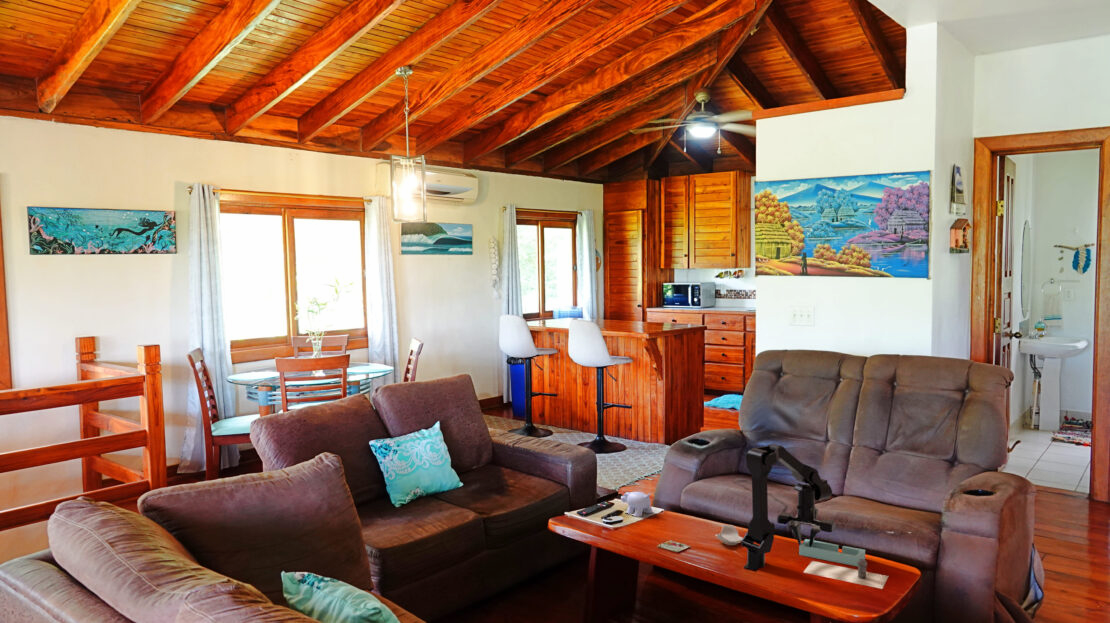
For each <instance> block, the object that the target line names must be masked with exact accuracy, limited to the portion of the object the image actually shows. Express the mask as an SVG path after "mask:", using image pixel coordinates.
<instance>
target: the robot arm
mask: <svg viewBox="0 0 1110 623" xmlns="http://www.w3.org/2000/svg"><path fill="white" fill-rule="evenodd" d="M745 462H746V468H747V470H748V471H749V474H750V475H751V487H752V488H751V494H752V497H751V498H752V503H751V504H752V518H751V519H750V521H749V522H748V525H747V531H746V532H745V534H744V536H743V537H742V538H743V539H742V540H741V542H740V543H741V547H742V548H745V549H747V550H746V551H747V552H746V553H747V555H746V556H747V558H746V559H747V560H746V561H747V562H746V563H745V565H744V566H743V569H747V570H751V571H756V572H757V571H759V570H760V569H762V568H764V567H765V566H766V554H767V553H770V552H771V550H772V547H773V543H774V539H775V536H776V533H775V526H776V525H775V523H774V522H771V521H770V520H769V507H768V506H769V504H768V500H769V499H768V476H769V474H770V473H771V471H772V470H773V469H772V468H773V465H774V464H777V463H778V462H779V463H781V464H782V465H784V466H785V467H786V468H787V469H788V470H790V472H791V475H792V476H793V478H794V479H795V480H796V481H798V482H799V483H798V482H797V484H796V485H795V486H794V487H793V490H794V491H796V492H797V505H796V512H797V516H794V515H793V513H790V512H785V511H782V512H781V513H780V514H778V515H777V517H776V523H777V524H781V525H787V524H788V523H789V525H788V528H791V530H792V532H793V533H794V537H795V539H796V540H797V544H798V545H799V546H800V545H801V544H802V531H801V530H802V529H801V527H802V525H807V526H811V527H812V528H810V532H809V540H810V547H812V544H813V542H814V541H815V539H816V536H817V534H819V533H821V532H826V533H833V531H834V530H835V529H836V522H835V521H834V520H833V519H826V518H823V519H821V520H820V521H819V520H817V519H818V515H819V509H818V508H816V504H815V502H816V501H821V500H826V499H830V498H831V496H832V495H833V490H832V487H831V485H830V484H829V483H828V480H827V479H824V478H821V477H820V475H819V470H817V468H815V467H814V466H813V467H812V466H810V465H807V464H805V463H803V462H801V461H800V460H799V459H797V457H795V456H794V455H793V454H791V452H789V451H788V450H787V449H786V448H785V447H784V446H783V445H779V444H776V443H771V444H768V445H765V446H764V445H763V446H759V447H755V448H754V447H753V448H750V449H749V450H748V452H746V454H745ZM800 482H801V483H800Z"/></svg>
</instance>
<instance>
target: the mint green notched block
mask: <svg viewBox="0 0 1110 623" xmlns="http://www.w3.org/2000/svg"><path fill="white" fill-rule="evenodd" d="M839 546H840V545H839V544H835V543H830V542H824V541H818V540H814V542H813V544H812V547H810V538H809V539H807V538H805V539H804V540H803V541H802V542H801V545H799V546H798V554H799V556H802V557H807V558H813V559H818V560H822V561H828V562H833V563H839V564H843V565H848V566H853V567H858V565H857V561H858V560H859V559H864V560H866V549H863V548H856V547H851V546H847V545H846V546H845V545H843V546H842V547H841V552H840V551H839V548H840V547H839Z"/></svg>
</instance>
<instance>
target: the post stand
mask: <svg viewBox="0 0 1110 623" xmlns="http://www.w3.org/2000/svg"><path fill="white" fill-rule="evenodd" d="M857 565H858V566H857V569H854V568H849V567H845V566H839V565H834V564H829V563H824V562H820V561H816V560H815V561H814V560H811V561H810V562H809V564H808V566H807V567H806V568H805V569H804V570H803V573H804V574H809V575H814V576H818V577H824V578H828V579H829V578H830V579H833V580H838V581H843V582H847V583H852V584H856V585H857V584H858V585H861V586H866V587H871V588H877V589H881V590H883V589H884V587H885V585H886V582H887V580H888V579H889V575H885V574H880V573H875V572H869V571H867V567H868V562H867V560H866V559H865V560H864V559H859V560H858V561H857Z"/></svg>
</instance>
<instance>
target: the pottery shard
mask: <svg viewBox="0 0 1110 623" xmlns="http://www.w3.org/2000/svg"><path fill="white" fill-rule="evenodd" d="M714 536H715V537H716V538H717V539H718V540H719V541H720V542H722V544H724V545H727V546H735V545H736V546H737V545H738V544H740V543H741V540H742V539H743V537H742V536H740V535H739V532H738V529H736V527H735V525H733V524H723V525H722V528H721V531H720V533H716V534H715V535H714Z"/></svg>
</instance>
